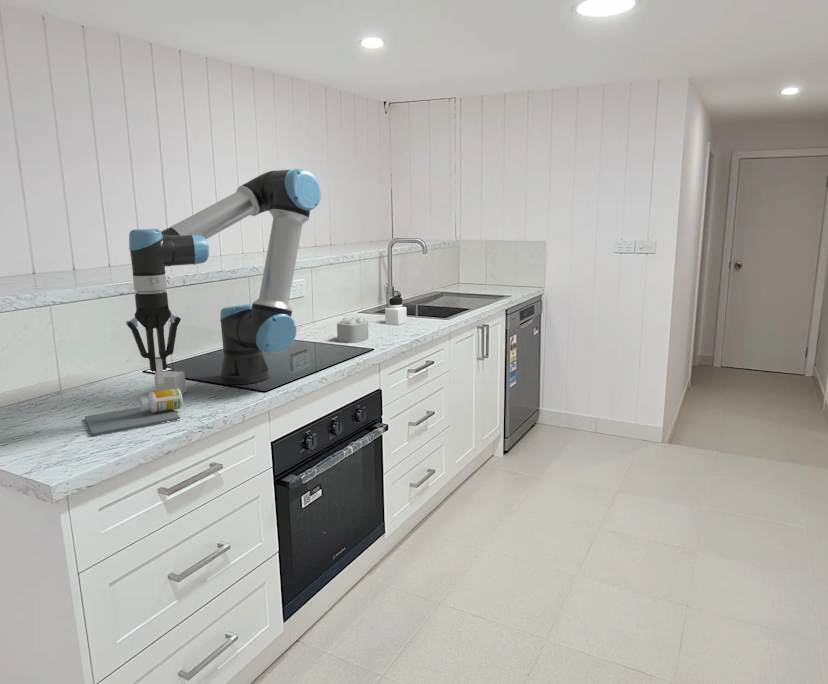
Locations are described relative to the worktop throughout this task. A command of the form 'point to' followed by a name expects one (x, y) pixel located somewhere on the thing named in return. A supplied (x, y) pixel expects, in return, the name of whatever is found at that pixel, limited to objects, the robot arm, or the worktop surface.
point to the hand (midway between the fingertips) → (159, 382)
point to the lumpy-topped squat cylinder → (352, 330)
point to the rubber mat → (126, 420)
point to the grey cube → (172, 381)
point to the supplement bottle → (161, 400)
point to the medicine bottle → (395, 312)
